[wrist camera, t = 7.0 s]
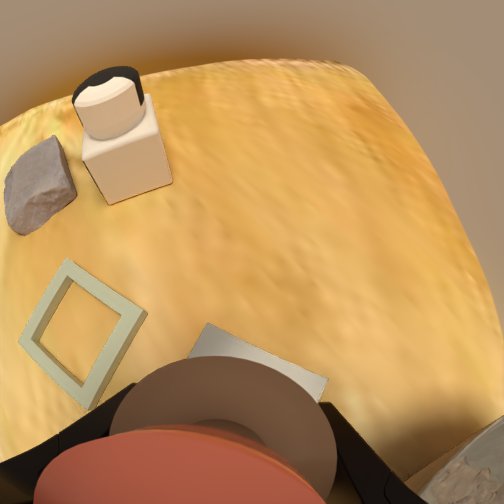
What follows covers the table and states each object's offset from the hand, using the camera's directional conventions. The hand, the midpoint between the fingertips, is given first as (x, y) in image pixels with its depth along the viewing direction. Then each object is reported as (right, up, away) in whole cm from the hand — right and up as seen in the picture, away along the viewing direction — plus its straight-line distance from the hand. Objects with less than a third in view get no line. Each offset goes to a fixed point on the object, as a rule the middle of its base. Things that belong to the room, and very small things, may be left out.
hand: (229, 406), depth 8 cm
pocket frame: (-14, -2, +13) cm, 19 cm away
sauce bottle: (0, -4, +5) cm, 7 cm away
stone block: (-25, +12, +20) cm, 34 cm away
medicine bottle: (-12, +13, +21) cm, 27 cm away
